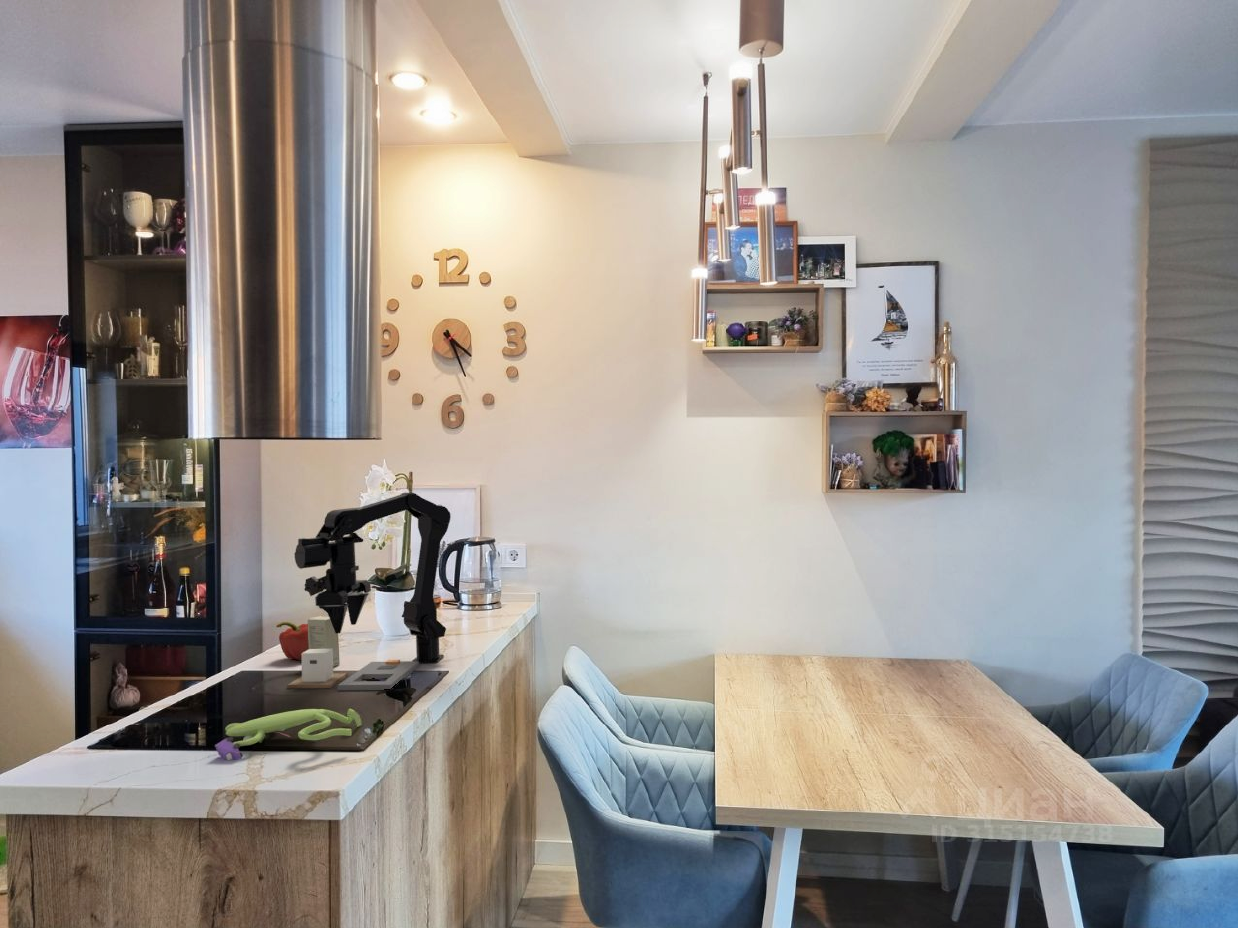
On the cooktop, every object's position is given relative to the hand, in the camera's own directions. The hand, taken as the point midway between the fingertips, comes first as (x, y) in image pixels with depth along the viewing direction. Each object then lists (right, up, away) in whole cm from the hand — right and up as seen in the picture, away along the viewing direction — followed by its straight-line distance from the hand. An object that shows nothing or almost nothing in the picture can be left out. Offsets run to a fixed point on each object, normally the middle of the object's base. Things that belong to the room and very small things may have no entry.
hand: (345, 628), depth 192 cm
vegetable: (-19, -12, +20) cm, 30 cm away
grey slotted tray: (+9, -11, 0) cm, 14 cm away
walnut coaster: (-5, -12, -4) cm, 13 cm away
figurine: (+5, -12, -44) cm, 46 cm away
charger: (-5, -11, -4) cm, 13 cm away
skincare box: (-9, -12, +12) cm, 19 cm away
